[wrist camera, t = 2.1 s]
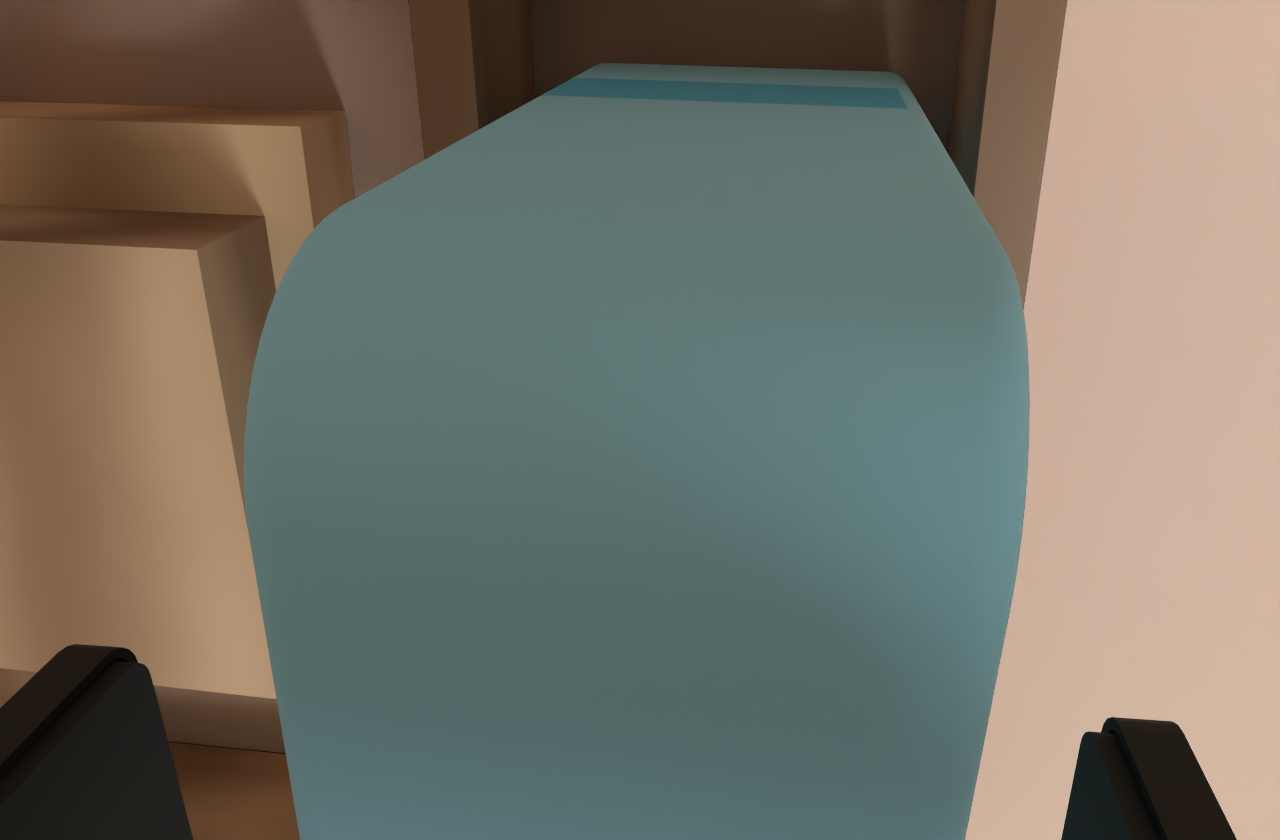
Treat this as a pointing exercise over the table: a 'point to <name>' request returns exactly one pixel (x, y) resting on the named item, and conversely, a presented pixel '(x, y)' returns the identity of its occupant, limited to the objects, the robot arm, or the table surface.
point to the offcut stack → (143, 371)
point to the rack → (503, 81)
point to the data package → (645, 473)
